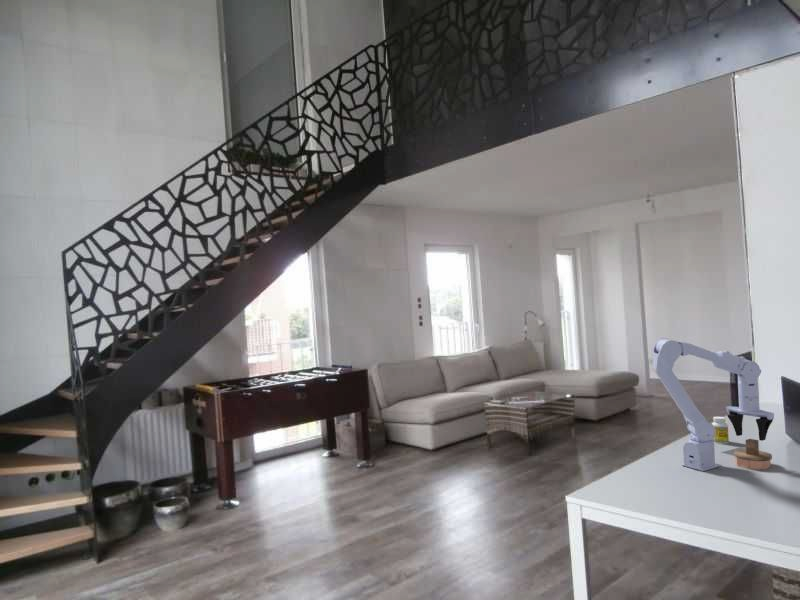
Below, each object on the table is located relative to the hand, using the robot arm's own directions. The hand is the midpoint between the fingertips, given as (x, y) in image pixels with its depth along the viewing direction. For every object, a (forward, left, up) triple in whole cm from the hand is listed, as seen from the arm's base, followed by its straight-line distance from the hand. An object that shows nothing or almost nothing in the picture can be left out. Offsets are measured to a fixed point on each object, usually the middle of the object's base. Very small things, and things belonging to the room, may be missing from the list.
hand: (750, 437), depth 184 cm
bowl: (0, 0, -9) cm, 9 cm away
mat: (+11, +9, -9) cm, 17 cm away
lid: (+1, 0, -6) cm, 6 cm away
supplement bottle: (+18, +23, -10) cm, 31 cm away
